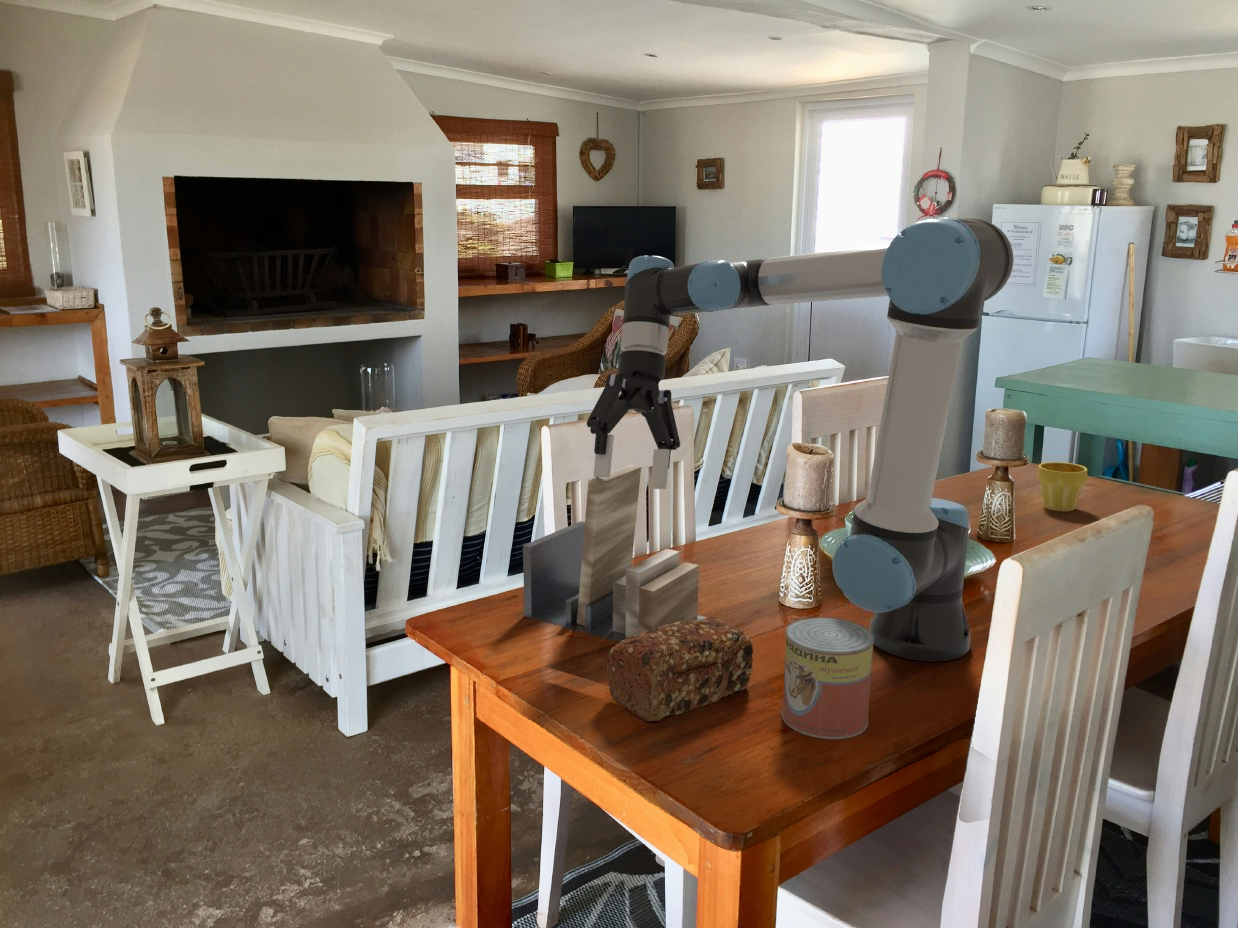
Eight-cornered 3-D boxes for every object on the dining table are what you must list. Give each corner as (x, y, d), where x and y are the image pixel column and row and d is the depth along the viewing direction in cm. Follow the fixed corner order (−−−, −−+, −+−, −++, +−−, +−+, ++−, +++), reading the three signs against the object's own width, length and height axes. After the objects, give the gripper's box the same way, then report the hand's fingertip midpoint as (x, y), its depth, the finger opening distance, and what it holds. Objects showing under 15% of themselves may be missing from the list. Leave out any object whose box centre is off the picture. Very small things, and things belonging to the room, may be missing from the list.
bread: (651, 729, 131) (652, 658, 128) (603, 698, 139) (603, 630, 137) (755, 690, 141) (758, 624, 139) (705, 664, 150) (707, 601, 147)
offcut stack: (697, 617, 163) (699, 553, 160) (652, 647, 151) (653, 578, 149) (652, 606, 167) (653, 543, 165) (605, 634, 156) (605, 567, 153)
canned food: (764, 712, 135) (767, 629, 132) (823, 690, 141) (828, 610, 138) (826, 748, 126) (831, 659, 123) (886, 723, 132) (892, 638, 129)
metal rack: (707, 625, 163) (709, 546, 160) (656, 660, 150) (657, 575, 147) (581, 594, 177) (580, 521, 173) (524, 624, 164) (522, 545, 160)
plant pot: (1026, 507, 232) (1030, 466, 230) (1046, 499, 239) (1050, 459, 236) (1071, 517, 224) (1075, 474, 222) (1090, 508, 231) (1095, 467, 229)
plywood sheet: (627, 602, 169) (641, 467, 162) (586, 626, 159) (599, 483, 152) (617, 599, 170) (630, 464, 163) (576, 622, 160) (588, 480, 153)
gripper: (671, 372, 174) (660, 492, 171) (572, 336, 154) (558, 471, 152) (707, 369, 169) (696, 493, 166) (609, 332, 150) (596, 471, 147)
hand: (630, 485), depth 159 cm, fingers open, 13 cm apart
